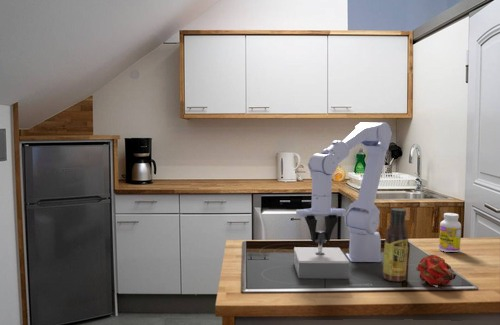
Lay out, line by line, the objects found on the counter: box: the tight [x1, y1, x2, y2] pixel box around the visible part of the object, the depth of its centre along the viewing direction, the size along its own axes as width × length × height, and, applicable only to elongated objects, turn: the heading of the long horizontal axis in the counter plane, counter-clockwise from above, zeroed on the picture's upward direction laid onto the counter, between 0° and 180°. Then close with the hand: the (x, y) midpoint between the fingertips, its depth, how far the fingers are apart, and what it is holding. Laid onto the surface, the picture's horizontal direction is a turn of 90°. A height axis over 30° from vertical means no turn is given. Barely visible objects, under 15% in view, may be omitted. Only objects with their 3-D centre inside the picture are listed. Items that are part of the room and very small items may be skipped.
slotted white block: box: [293, 246, 350, 280], centre depth 138 cm, size 14×14×5 cm
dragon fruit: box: [415, 254, 457, 287], centre depth 128 cm, size 8×8×12 cm
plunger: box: [315, 230, 327, 255], centre depth 138 cm, size 11×11×8 cm
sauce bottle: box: [382, 207, 409, 283], centre depth 131 cm, size 6×6×20 cm
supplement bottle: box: [438, 212, 462, 253], centre depth 160 cm, size 7×7×13 cm
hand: (320, 240), depth 138 cm, fingers open, 4 cm apart
